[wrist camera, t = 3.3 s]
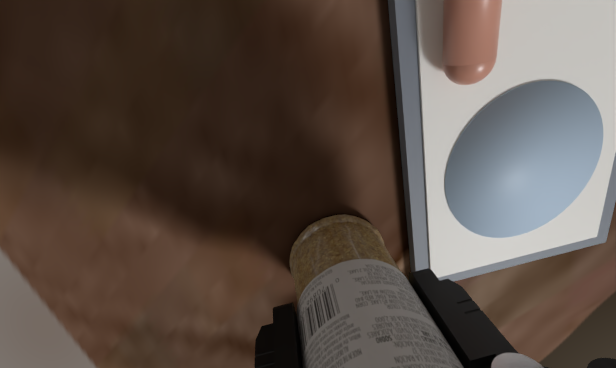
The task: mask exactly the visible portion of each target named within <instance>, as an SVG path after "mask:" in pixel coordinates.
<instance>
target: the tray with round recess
mask: <svg viewBox="0 0 616 368" xmlns="http://www.w3.org/2000/svg"><path fill="white" fill-rule="evenodd" d="M443 1H444V0H388V9H389V20H390V32H391V44H392V55H393V67H394V79H395V90H396V102H397V114H398V125H399V137H400V149H401V160H402V172H403V184H404V195H405V207H406V219H407V230H408V242H409V254H410V266H411V272H415V271H419V270H423V269H427V268H430V269H431V270H432V271H433V272H434V274H435V275H436V276H437V278H438V279H439V280H440V281H441V280H444V279H450V280H451V281H457V280H461V279H465V278H469V277H473V276H477V275H480V274H484V273H488V272H492V271H496V270H500V269H504V268H508V267H511V266H515V265H519V264H523V263H527V262H531V261H535V260H538V259H542V258H546V257H550V256H554V255H558V254H562V253H566V252H569V251H573V250H577V249H581V248H585V247H589V246H593V245H597V244H600V243H604V242H606V239H607V235H608V231H609V227H610V222H611V218H612V214H613V210H614V206H615V201H616V0H502V8H501V18H500V29H499V39H498V50H497V58H496V63H495V65H494V67H493V69H492V71H491V72H490V73H489V74H488V75H487V76H486V77H485V78H484V79H483V80H481V81H479V82H477V83H475V84H471V85H459V84H456V83H454V82H452V81H450V80H449V79H448V78H447V76H446V75H445V73H444V70H443Z"/></svg>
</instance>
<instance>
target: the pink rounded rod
mask: <svg viewBox="0 0 616 368" xmlns="http://www.w3.org/2000/svg"><path fill="white" fill-rule="evenodd" d="M501 8H502V0H444V1H443V70H444V73H445V75H446V76H447V78H448V79H449V80H450V81H452V82H454V83H456V84H459V85H471V84H475V83H477V82H479V81H481V80H483V79H484V78H485V77H486V76H487V75H488V74H489V73H490V72H491V71H492V69H493V67H494V65H495V63H496V58H497V50H498V39H499V29H500V18H501Z"/></svg>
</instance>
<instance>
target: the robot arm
mask: <svg viewBox="0 0 616 368" xmlns="http://www.w3.org/2000/svg"><path fill="white" fill-rule="evenodd" d="M409 282H410V284H411V286H412V287H413V289H414V290H415V292H416V293H417V295H418V296H419V298H420V300H421V301H422V303H423V304H424V306H425V307H426V309H427V311H428V312H429V314H430V315H431V317H432V318H433V320H434V321H435V323H436V325H437V326H438V328H439V329H440V331H441V332H442V334H443V336H444V337H445V339H446V340H447V342H448V344H449V345H450V347H451V348H452V350H453V351H454V353H455V355H456V356H457V358H458V359H459V361H460V363H461V364H462V366H463V367H464V368H547V367H543V366H541V365H540V364H539V363H538V362H536V361H535V360H533V359H531V358H529V357H527V356H525V355H522V354H519V353H518V352H517V351H516V350H515V349H514V348H513V347H512V346H511V344H510V343H509V342H508V341H507V340H506V339H505V337H504V336H503V335H502V334H501V333H500V331H499V330H498V329H497V328H496V327H495V326H494V324H493V323H492V322H491V321H490V320H489V318H488V317H487V316H486V315H485V314H484V313H483V311H481V310H480V308H479V307H478V305H477V304H476V303H475V302H474V301H472V298H471V297H470V296H469V295H468V294H467V292H466V291H465V290H464V289H463V288H462V287H461V286H459V285H458V284H456V283H455V282H453V281H451V280H450V279H444V280H441V281H440V280H439V279H438V278H437V276H436V275H435V274H434V272H433V271H432V270H431V269H430V268H427V269H423V270H419V271H415V272H411V273H409ZM255 368H303V365H302V357H301V349H300V340H299V332H298V323H297V314H296V311H295V307H294V304H293V303H289V304H285V305H281V306H277V307H274V308H273V323H272V324H269V325H265V326H262V327H261V329H260V331H259V334H258V336H257V338H256V344H255ZM587 368H616V359H611V358H598V359H595V360H593V361H591V362H590V363H589V364H588V367H587Z"/></svg>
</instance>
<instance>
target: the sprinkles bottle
mask: <svg viewBox="0 0 616 368" xmlns="http://www.w3.org/2000/svg"><path fill="white" fill-rule="evenodd" d="M290 268H291V274H292V277H293V278H294V280H295V289H296V295H297V323H298V332H299V340H300V349H301V357H302V365H303V368H464V367H463V366H462V364H461V363H460V361H459V359H458V358H457V356H456V355H455V353H454V351H453V350H452V348H451V347H450V345H449V344H448V342H447V340H446V339H445V337H444V336H443V334H442V332H441V331H440V329H439V328H438V326H437V325H436V323H435V321H434V320H433V318H432V317H431V315H430V314H429V312H428V311H427V309H426V307H425V306H424V304H423V303H422V301H421V300H420V298H419V296H418V295H417V293H416V292H415V290H414V289H413V287H412V286H411V284H410V282H409V281H408V279H407V278H406V277H405V276H404V274H403V273H402V272H401V271H400V270H399V268H398V267H397V265H396V264H395V262H394V260H393V259H392V257H391V256H390V254H389V252H388V251H387V249H386V248H385V245H384V242H383V239H382V237H381V235H380V233H379V232H378V230H377V229H376V228H375V227H374V226H372V225H371V224H370V223H369V222H367V221H365V220H363V219H361V218H359V217H356V216H350V215H346V214H343V215H334V216H330V217H326V218H323V219H321V220H319V221H316V222H314V223H313V224H311V225H309V226H308V227H307V228H306V229H305V230H304V231H303V232H302V233H301V234H300V235H299V237H298V239H297V240H296V241H295V242H294V244H293V247H292V250H291V253H290Z"/></svg>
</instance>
